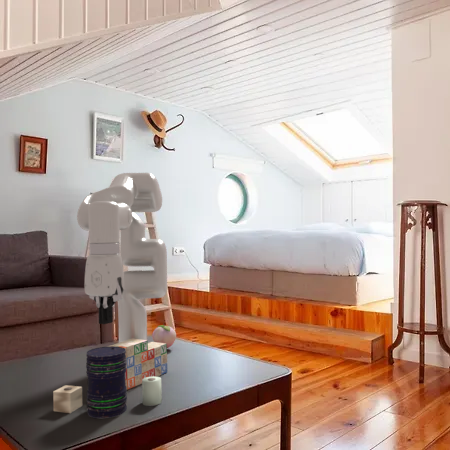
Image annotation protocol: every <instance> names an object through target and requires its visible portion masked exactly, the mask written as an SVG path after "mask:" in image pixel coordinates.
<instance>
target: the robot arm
mask: <svg viewBox="0 0 450 450" xmlns="http://www.w3.org/2000/svg"><path fill="white" fill-rule="evenodd" d="M162 206H163V196H162V192H161V187H160V184H159V181H158V179H157V177H156V176H155V175H154V174H152V173H151V172H123V173H118V174H117V175H116V176H115V177H114V178H113V179H112V181H111V183H110V185H109V186H108V187H106V188H103V189H100V190H97V191H95V192H92V193H90V194H88V195H87V196H86V197H84V199H83V200H82V202H80V205H79V206H78V211H77V215H76V220H77V224H78V226H79V228H80V229H82V230H83V231H88V251H89V252H88V254H89V255H88V256H87V258H86V261H85V271H84V293H85V294H86V295H88V297H89V299H90V300H93V301H95V303H96V304H95V305H96V307H97V308H98V324H100V325H106V324H112V323H113V322H114V320H113V315H114V313H113V307H115V305H116V303H117V310H118V313H117V314H118V316H117V317H118V343H120V342H122V341H126V340H129V339H132V338H134V339H142V340H148V319H147V317H148V314H147V309H146V307H145V306H144V304H143V303H142V302H141V301H140V300H142V299H160V298H164V297H165V296H166V294H167V291H168V256H167V255H168V252H167V246H166V243H165V241H163V240H162V239H158V238H146V226H145V223H144V221H143V220H142V219H141V217H140V216H139V215H138V214H137V213H155V212H159V211H161V208H162ZM124 266H125V267H129V268H130V267H132V268H133V267H137V268H139V267H140V268H142V267H144V268H145V267H146V268H147V267H151V268H153V269H152V270H151V269H149V270H146V269H145V270H140V269H139V270H126V271H125V270H124Z"/></svg>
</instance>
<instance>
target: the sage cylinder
mask: <svg viewBox="0 0 450 450" xmlns="http://www.w3.org/2000/svg"><path fill="white" fill-rule="evenodd" d="M162 395H163V393H162V377H160V376H157V377H155V376H153V377H146V378H144V379H142V384H141V396H142V399H141V400H142V401H141V402H142V405H143V406H145V407H153V406H158V405H161V403H162V402H163V401H162Z"/></svg>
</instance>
